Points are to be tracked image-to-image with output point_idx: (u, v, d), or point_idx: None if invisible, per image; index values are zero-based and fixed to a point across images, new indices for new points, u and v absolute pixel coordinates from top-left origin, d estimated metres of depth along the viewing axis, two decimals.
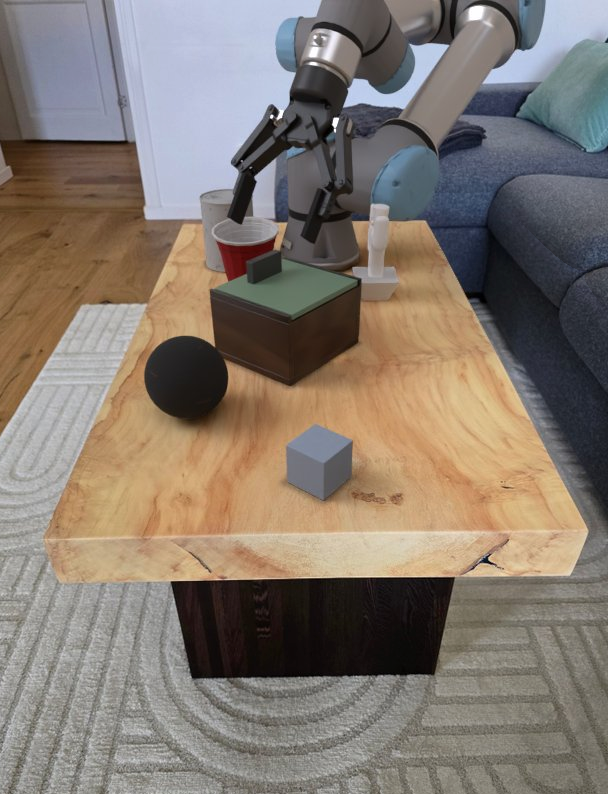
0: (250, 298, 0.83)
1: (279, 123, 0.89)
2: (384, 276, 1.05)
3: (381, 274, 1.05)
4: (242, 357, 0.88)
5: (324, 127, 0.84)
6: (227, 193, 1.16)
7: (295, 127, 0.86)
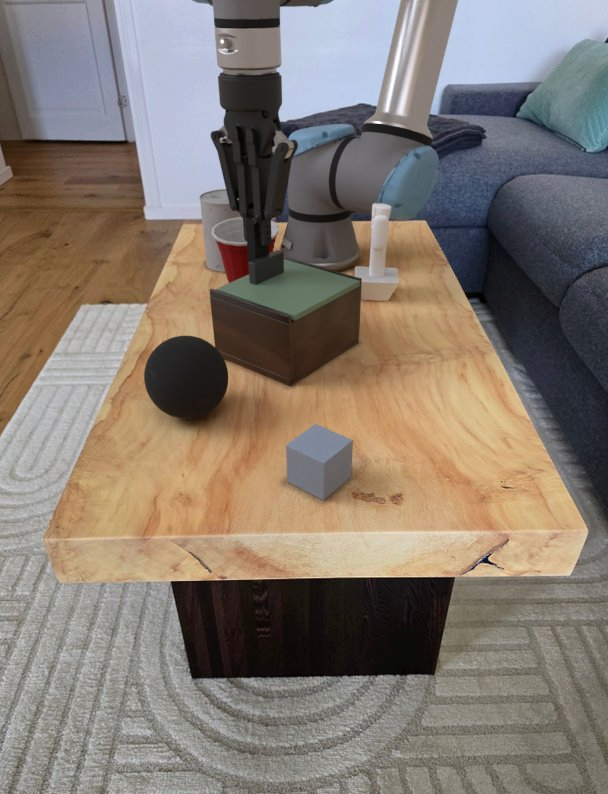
0: (252, 299, 0.83)
1: (231, 138, 0.81)
2: (385, 276, 1.05)
3: (382, 274, 1.05)
4: (242, 357, 0.88)
5: None
6: None
7: (242, 140, 0.79)
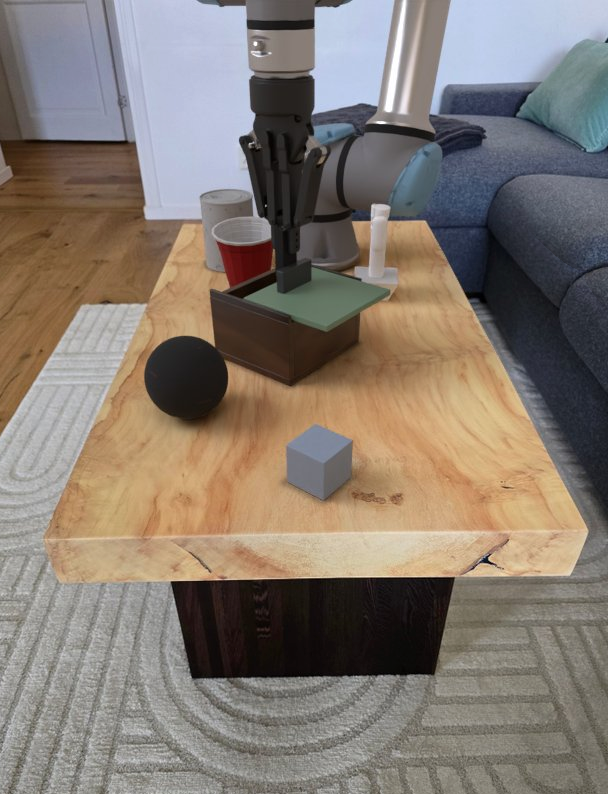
0: (281, 309, 0.80)
1: (260, 143, 0.79)
2: (384, 277, 1.05)
3: (381, 275, 1.05)
4: (242, 357, 0.88)
5: None
6: (227, 193, 1.16)
7: (272, 145, 0.76)
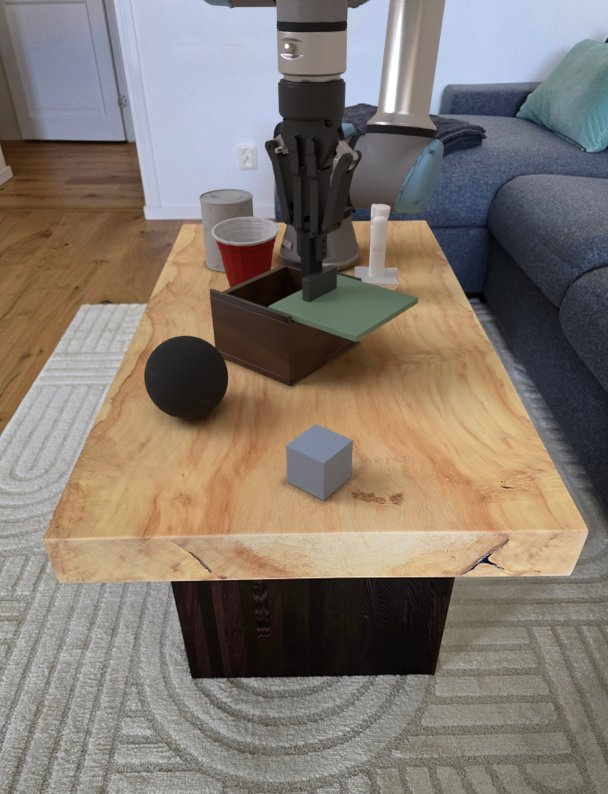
0: (308, 318, 0.78)
1: (287, 147, 0.76)
2: (384, 277, 1.05)
3: (381, 275, 1.05)
4: (242, 357, 0.88)
5: None
6: (227, 193, 1.16)
7: (300, 150, 0.74)
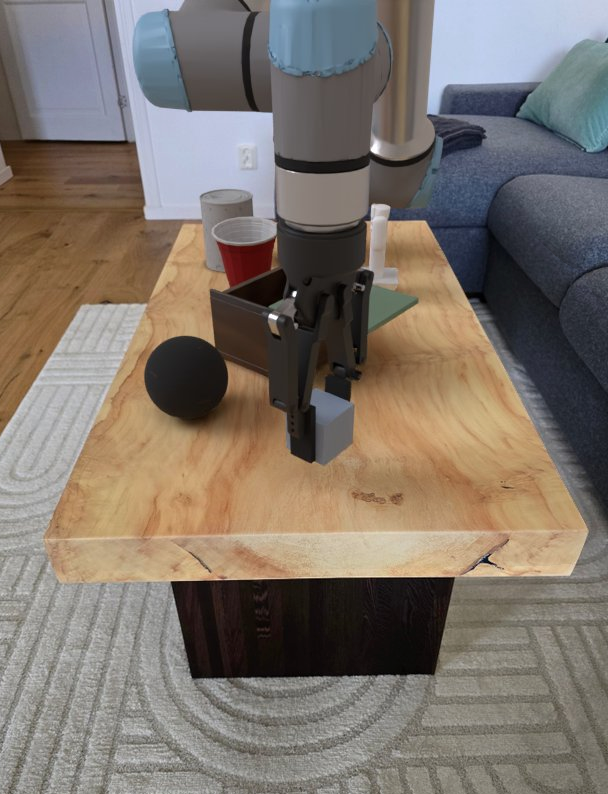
0: None
1: (351, 286, 0.59)
2: (384, 277, 1.05)
3: (381, 275, 1.05)
4: (242, 357, 0.88)
5: None
6: (227, 193, 1.16)
7: None
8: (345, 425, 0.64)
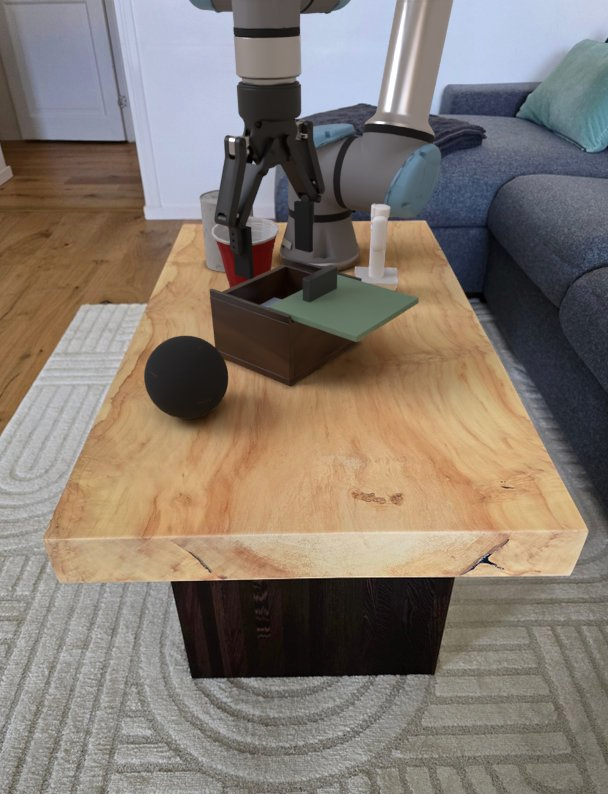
0: (308, 318, 0.78)
1: (297, 137, 0.81)
2: (384, 277, 1.05)
3: (381, 275, 1.05)
4: (242, 357, 0.88)
5: None
6: None
7: None
8: None
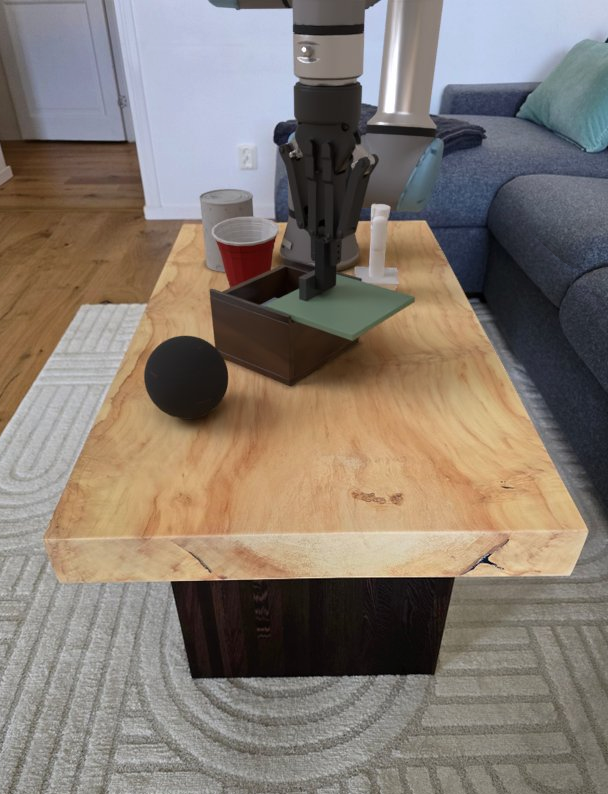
0: (305, 317, 0.78)
1: (301, 151, 0.76)
2: (384, 277, 1.05)
3: (381, 275, 1.05)
4: (242, 357, 0.88)
5: None
6: (227, 193, 1.16)
7: (315, 154, 0.73)
8: None
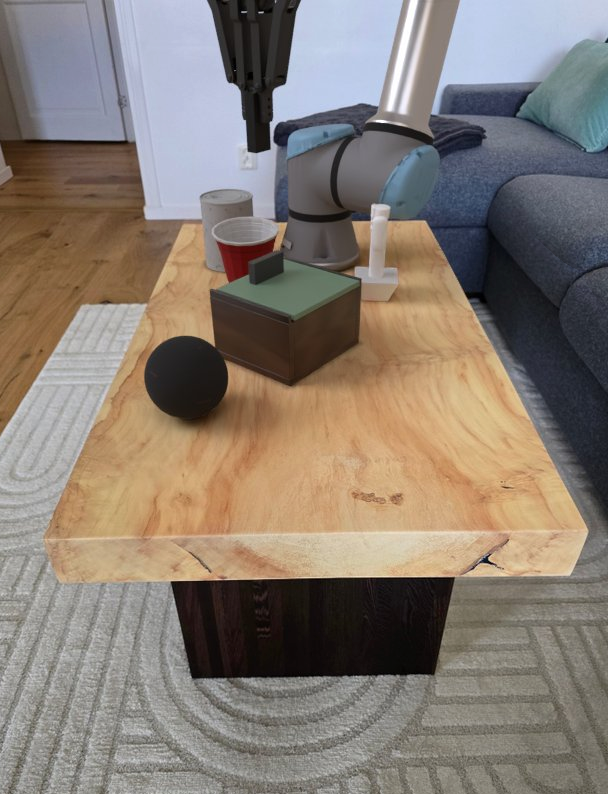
0: (252, 299, 0.83)
1: None
2: (384, 277, 1.05)
3: (381, 275, 1.05)
4: (242, 357, 0.88)
5: None
6: (227, 193, 1.16)
7: None
8: None
